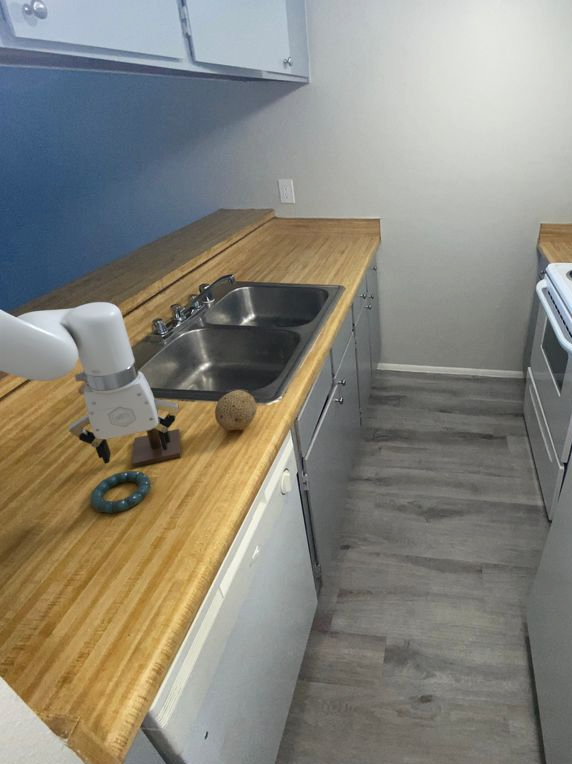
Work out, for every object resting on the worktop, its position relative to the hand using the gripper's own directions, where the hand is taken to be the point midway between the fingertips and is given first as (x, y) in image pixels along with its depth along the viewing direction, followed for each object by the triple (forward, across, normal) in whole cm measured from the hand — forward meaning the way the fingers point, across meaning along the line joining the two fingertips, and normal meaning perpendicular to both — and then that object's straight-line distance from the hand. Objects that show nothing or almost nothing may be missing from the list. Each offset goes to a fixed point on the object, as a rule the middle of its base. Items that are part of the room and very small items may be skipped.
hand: (137, 452), depth 88 cm
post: (+9, +2, +12) cm, 15 cm away
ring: (+8, -4, 0) cm, 9 cm away
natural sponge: (+10, +18, +13) cm, 24 cm away
